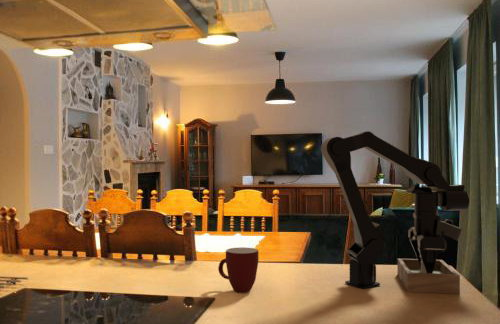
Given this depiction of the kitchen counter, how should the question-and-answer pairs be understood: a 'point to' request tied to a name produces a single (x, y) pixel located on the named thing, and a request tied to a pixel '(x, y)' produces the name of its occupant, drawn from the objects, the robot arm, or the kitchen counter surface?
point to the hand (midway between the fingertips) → (426, 270)
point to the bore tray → (428, 277)
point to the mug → (240, 268)
